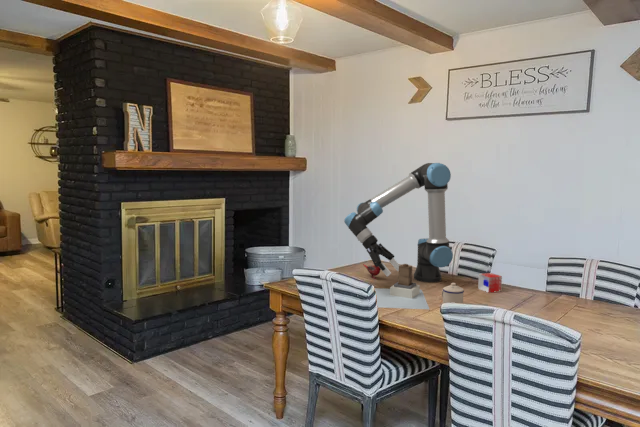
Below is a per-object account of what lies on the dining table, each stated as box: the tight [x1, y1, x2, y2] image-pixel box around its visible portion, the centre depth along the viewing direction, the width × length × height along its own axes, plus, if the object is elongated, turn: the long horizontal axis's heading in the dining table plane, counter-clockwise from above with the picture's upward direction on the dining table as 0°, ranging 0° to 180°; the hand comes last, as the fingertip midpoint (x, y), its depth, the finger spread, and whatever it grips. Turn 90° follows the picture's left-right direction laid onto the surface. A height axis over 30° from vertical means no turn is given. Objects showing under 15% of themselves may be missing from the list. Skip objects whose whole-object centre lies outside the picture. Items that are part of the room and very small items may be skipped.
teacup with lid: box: [441, 282, 465, 304], centre depth 210 cm, size 12×9×12 cm
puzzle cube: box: [477, 272, 503, 293], centre depth 240 cm, size 8×8×8 cm
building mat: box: [374, 287, 430, 312], centre depth 222 cm, size 24×32×1 cm
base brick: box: [389, 281, 421, 299], centre depth 229 cm, size 11×11×5 cm
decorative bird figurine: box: [362, 263, 382, 280], centre depth 264 cm, size 3×18×10 cm, turn 30°
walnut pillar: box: [397, 263, 413, 286], centre depth 228 cm, size 5×5×11 cm
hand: (394, 272), depth 230 cm, fingers open, 13 cm apart
